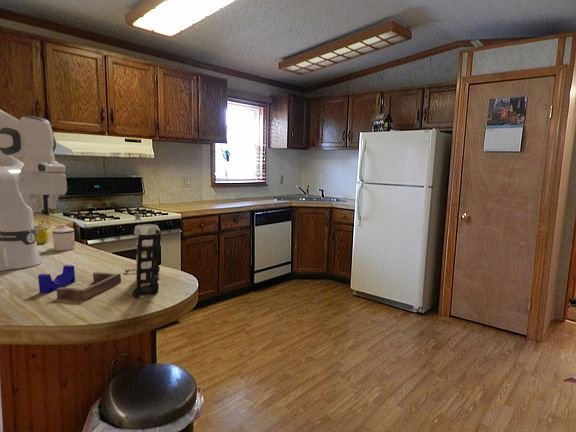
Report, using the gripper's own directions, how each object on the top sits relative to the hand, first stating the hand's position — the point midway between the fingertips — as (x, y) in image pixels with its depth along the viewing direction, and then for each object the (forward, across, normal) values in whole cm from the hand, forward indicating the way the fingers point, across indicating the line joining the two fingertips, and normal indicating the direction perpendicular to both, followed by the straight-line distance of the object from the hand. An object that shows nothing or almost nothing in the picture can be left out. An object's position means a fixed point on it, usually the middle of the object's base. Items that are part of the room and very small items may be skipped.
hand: (43, 207), depth 129 cm
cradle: (+26, +19, 0) cm, 32 cm away
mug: (+25, -64, +36) cm, 77 cm away
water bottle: (+26, +28, +17) cm, 42 cm away
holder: (+26, +38, +8) cm, 47 cm away
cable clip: (+26, +7, -2) cm, 27 cm away
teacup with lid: (+25, -42, +34) cm, 60 cm away
